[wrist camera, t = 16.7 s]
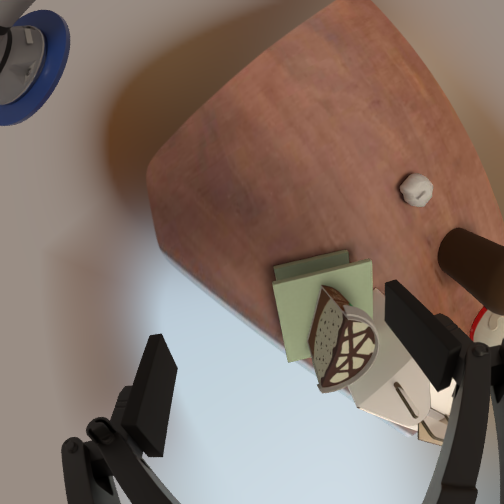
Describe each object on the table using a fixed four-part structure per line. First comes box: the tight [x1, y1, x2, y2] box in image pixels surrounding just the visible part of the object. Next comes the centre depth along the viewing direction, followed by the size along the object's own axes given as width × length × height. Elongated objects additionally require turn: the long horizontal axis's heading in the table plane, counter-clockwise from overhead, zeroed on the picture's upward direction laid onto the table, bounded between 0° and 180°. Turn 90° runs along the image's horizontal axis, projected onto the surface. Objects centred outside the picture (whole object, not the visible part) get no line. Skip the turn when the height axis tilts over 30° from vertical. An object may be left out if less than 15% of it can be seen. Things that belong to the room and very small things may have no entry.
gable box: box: [348, 288, 456, 446], centre depth 40 cm, size 22×13×28 cm, turn 52°
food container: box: [307, 285, 379, 393], centre depth 36 cm, size 12×6×10 cm, turn 173°
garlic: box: [400, 173, 433, 207], centre depth 41 cm, size 6×5×5 cm
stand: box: [272, 249, 373, 362], centre depth 44 cm, size 14×14×8 cm
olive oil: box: [438, 228, 504, 316], centre depth 36 cm, size 11×11×25 cm
